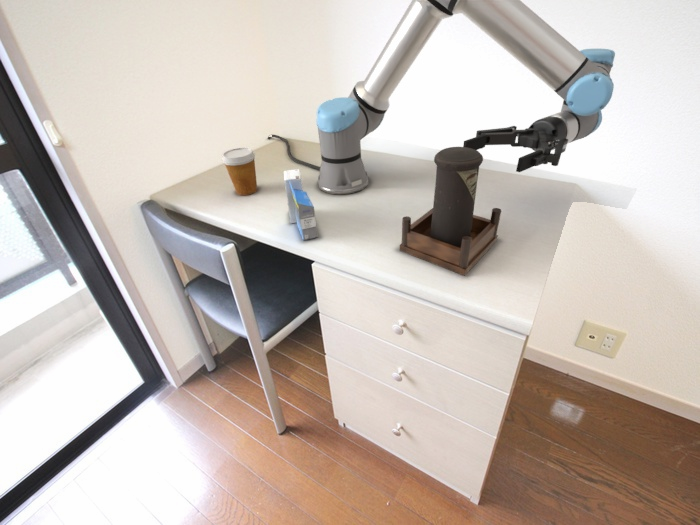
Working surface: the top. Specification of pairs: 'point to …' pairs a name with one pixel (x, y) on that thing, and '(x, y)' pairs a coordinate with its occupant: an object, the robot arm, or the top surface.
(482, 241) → the wooden tray
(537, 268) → the top surface
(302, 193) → the tape cartridge
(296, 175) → the cosmetic box
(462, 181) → the container
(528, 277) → the top surface
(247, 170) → the disposable coffee cup
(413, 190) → the top surface
